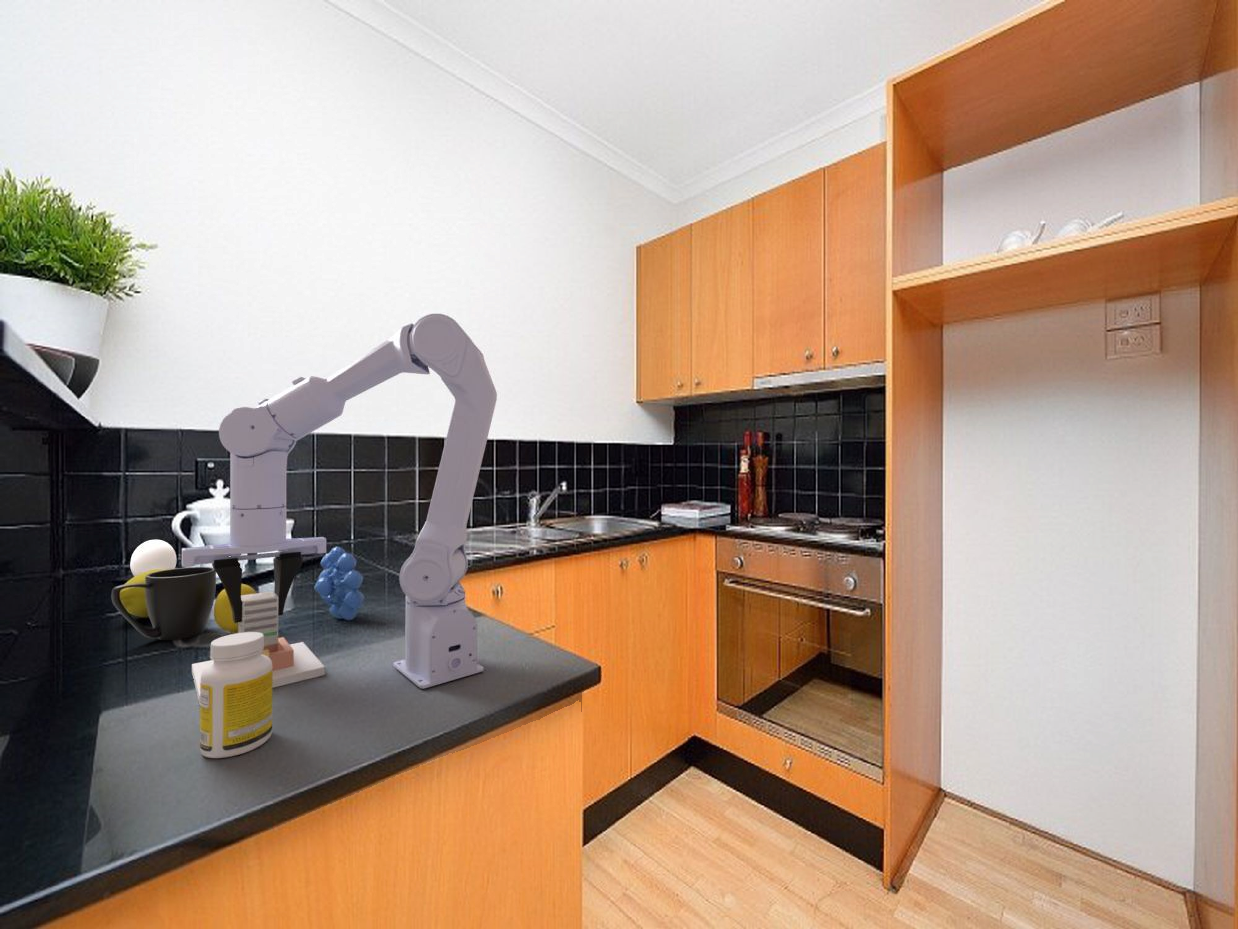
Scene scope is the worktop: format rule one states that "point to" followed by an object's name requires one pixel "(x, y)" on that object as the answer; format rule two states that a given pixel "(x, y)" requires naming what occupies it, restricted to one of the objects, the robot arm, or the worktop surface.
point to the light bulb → (152, 557)
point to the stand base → (279, 664)
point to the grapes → (340, 584)
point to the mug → (174, 602)
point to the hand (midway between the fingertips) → (258, 617)
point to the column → (260, 615)
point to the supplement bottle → (236, 696)
